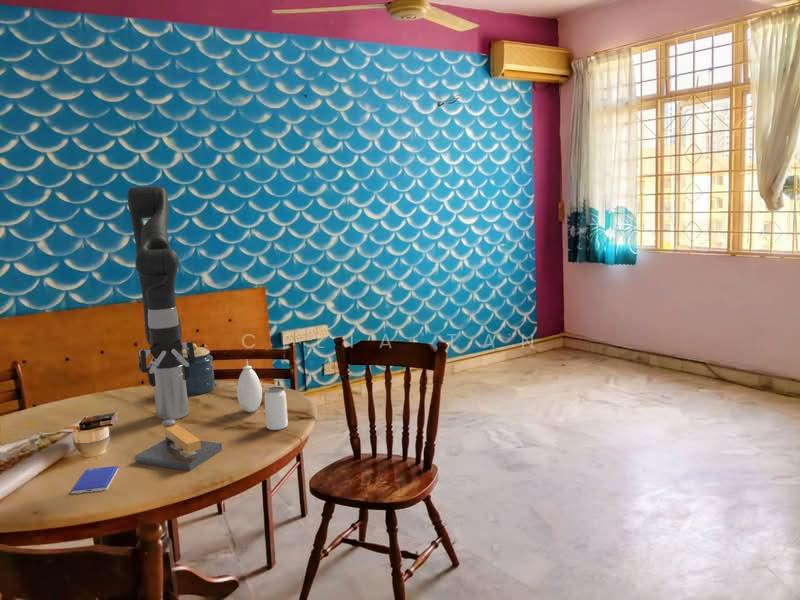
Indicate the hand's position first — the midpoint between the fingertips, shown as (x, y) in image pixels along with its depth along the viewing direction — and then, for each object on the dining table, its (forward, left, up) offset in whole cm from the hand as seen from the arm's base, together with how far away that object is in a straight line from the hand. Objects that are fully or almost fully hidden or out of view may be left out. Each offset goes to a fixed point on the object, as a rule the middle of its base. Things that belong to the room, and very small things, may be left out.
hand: (169, 382), depth 175 cm
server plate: (0, +1, -22) cm, 22 cm away
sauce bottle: (-1, +38, -22) cm, 44 cm away
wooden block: (0, +2, -19) cm, 19 cm away
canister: (-34, +53, -22) cm, 67 cm away
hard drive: (-11, -18, -22) cm, 31 cm away
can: (+15, +28, -22) cm, 39 cm away
